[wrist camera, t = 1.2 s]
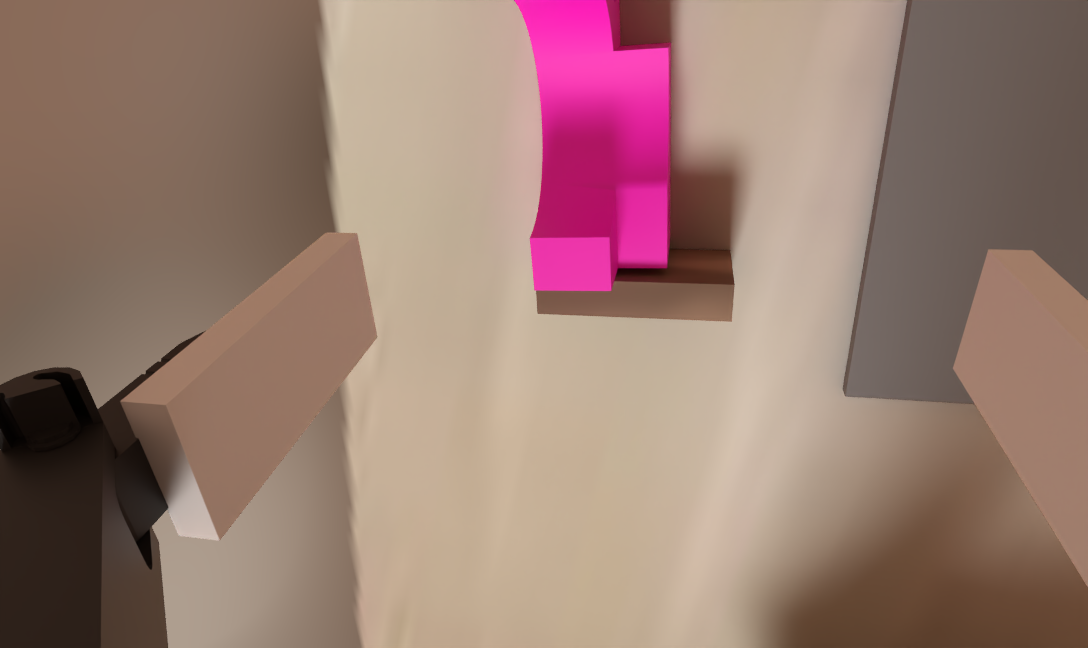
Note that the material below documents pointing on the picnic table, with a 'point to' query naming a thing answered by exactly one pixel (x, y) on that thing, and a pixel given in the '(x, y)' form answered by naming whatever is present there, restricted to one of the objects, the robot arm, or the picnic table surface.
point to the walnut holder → (657, 291)
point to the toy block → (598, 146)
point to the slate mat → (969, 181)
